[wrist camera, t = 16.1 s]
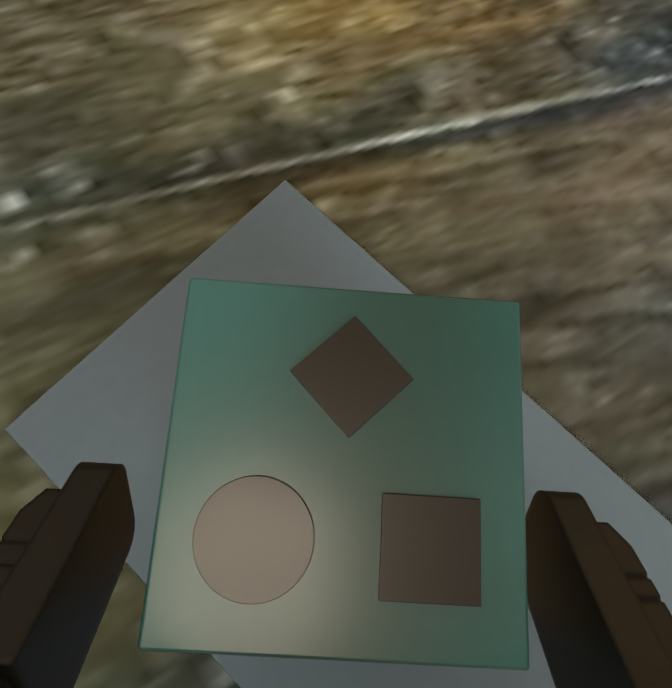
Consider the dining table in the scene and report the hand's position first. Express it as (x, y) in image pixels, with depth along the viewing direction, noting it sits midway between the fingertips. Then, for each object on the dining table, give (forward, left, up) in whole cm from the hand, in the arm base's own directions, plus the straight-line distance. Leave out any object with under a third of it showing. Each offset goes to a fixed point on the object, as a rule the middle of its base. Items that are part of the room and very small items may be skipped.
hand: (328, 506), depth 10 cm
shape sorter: (0, +1, -8) cm, 8 cm away
